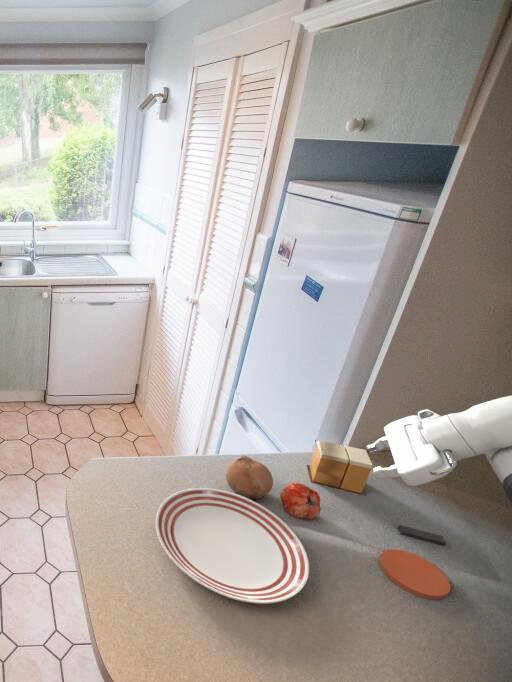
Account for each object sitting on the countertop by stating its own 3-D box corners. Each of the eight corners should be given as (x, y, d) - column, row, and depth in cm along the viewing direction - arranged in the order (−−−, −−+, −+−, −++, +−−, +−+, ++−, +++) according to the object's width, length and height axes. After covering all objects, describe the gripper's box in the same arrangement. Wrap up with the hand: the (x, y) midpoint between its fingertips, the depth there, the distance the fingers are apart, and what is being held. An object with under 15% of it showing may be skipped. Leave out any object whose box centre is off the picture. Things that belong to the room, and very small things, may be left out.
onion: (227, 493, 109) (220, 452, 110) (271, 491, 106) (264, 449, 106) (232, 507, 100) (225, 462, 101) (280, 506, 97) (272, 460, 97)
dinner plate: (316, 638, 74) (321, 625, 73) (144, 577, 85) (146, 565, 83) (295, 522, 97) (299, 510, 96) (162, 485, 108) (164, 474, 106)
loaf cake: (358, 479, 109) (370, 449, 105) (366, 498, 103) (378, 467, 100) (305, 467, 113) (315, 438, 110) (309, 484, 107) (319, 454, 104)
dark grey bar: (438, 540, 92) (442, 535, 92) (443, 549, 90) (446, 543, 90) (320, 509, 100) (322, 504, 100) (322, 517, 98) (324, 511, 98)
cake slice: (355, 477, 109) (366, 450, 105) (361, 493, 104) (372, 465, 100) (335, 472, 110) (345, 445, 107) (340, 488, 105) (351, 460, 102)
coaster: (436, 563, 87) (438, 560, 87) (457, 608, 79) (460, 604, 78) (372, 546, 91) (374, 542, 91) (387, 586, 83) (388, 582, 82)
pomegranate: (269, 510, 103) (288, 515, 94) (274, 477, 105) (293, 480, 95) (305, 520, 101) (328, 526, 92) (310, 487, 103) (332, 490, 93)
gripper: (470, 481, 86) (387, 501, 95) (441, 427, 102) (373, 449, 111) (448, 454, 86) (368, 477, 95) (423, 405, 102) (357, 428, 111)
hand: (371, 461), depth 103 cm, fingers open, 8 cm apart
